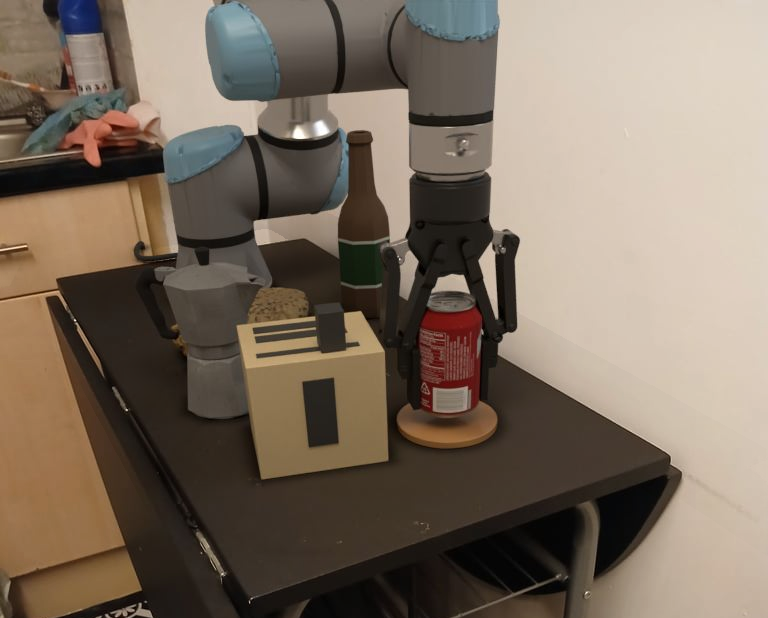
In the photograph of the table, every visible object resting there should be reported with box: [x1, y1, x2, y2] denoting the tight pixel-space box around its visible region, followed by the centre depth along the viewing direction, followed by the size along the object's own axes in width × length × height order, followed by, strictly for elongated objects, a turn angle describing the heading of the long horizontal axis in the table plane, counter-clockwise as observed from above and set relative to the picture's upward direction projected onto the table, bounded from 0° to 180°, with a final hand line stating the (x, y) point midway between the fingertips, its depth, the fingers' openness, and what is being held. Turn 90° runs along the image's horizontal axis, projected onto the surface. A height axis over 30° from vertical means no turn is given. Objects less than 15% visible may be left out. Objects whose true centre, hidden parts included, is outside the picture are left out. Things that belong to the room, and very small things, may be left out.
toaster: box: [237, 311, 389, 481], centre depth 81 cm, size 11×13×12 cm
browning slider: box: [313, 301, 346, 353], centre depth 74 cm, size 2×2×4 cm
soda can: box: [414, 290, 483, 418], centre depth 82 cm, size 7×7×12 cm
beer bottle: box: [337, 129, 391, 319], centre depth 110 cm, size 8×8×24 cm
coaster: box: [396, 400, 498, 450], centre depth 87 cm, size 11×11×1 cm
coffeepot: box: [134, 247, 265, 420], centre depth 88 cm, size 15×9×18 cm, turn 74°
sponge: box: [170, 286, 310, 358], centre depth 105 cm, size 13×8×20 cm
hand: (447, 399), depth 85 cm, fingers closed on soda can, 7 cm apart
